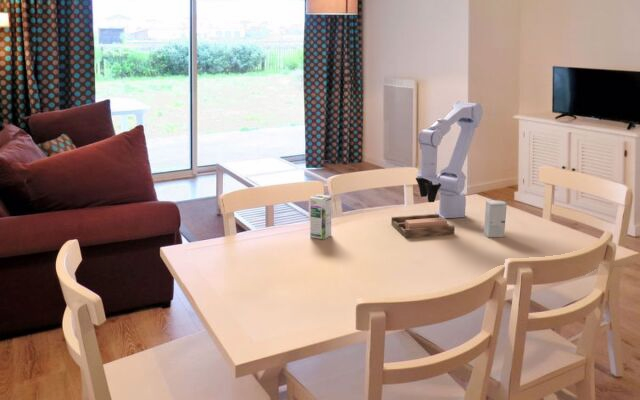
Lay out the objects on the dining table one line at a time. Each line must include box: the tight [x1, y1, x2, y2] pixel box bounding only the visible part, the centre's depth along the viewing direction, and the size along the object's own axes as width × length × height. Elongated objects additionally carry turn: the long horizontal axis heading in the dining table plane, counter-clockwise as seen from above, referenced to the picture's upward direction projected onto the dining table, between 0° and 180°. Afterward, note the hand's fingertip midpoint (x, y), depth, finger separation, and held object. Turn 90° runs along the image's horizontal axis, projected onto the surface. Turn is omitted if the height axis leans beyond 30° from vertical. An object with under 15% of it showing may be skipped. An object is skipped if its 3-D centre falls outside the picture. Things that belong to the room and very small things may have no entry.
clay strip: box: [405, 217, 448, 229], centre depth 231 cm, size 14×4×4 cm, turn 102°
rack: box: [391, 213, 455, 239], centre depth 235 cm, size 18×16×3 cm
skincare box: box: [483, 200, 508, 238], centre depth 227 cm, size 6×4×12 cm
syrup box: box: [309, 193, 332, 241], centre depth 227 cm, size 6×6×14 cm
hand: (427, 199), depth 239 cm, fingers open, 7 cm apart
